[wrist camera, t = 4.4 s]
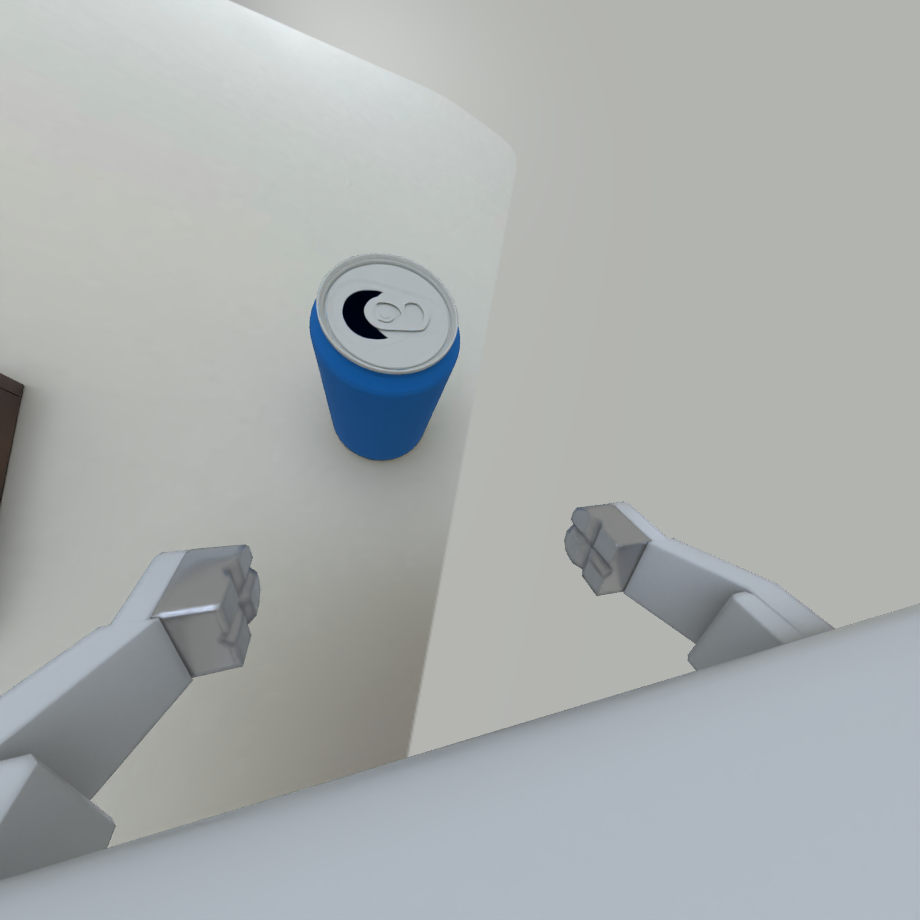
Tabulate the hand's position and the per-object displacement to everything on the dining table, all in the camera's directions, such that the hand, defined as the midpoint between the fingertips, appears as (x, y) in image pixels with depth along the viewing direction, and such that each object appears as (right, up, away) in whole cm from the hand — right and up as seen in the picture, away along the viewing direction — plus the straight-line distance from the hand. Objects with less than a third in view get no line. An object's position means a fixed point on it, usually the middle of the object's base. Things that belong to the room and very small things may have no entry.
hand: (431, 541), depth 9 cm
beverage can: (-5, +5, +16) cm, 18 cm away
